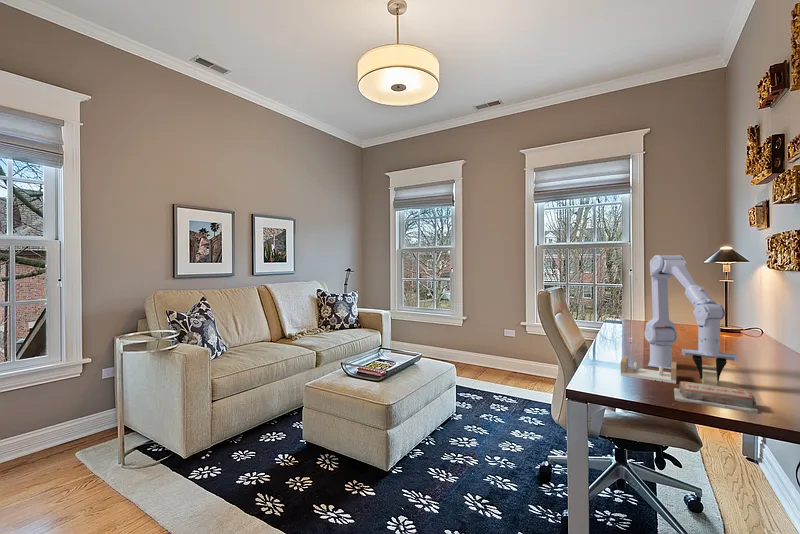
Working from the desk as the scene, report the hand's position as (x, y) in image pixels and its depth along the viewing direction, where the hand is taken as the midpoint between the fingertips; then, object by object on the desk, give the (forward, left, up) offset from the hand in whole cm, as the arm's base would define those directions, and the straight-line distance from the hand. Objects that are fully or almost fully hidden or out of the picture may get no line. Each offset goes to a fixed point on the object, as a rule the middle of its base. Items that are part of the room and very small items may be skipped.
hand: (709, 379), depth 127 cm
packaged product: (+21, 0, -2) cm, 22 cm away
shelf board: (0, 0, -2) cm, 2 cm away
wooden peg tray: (+1, -17, -1) cm, 17 cm away
